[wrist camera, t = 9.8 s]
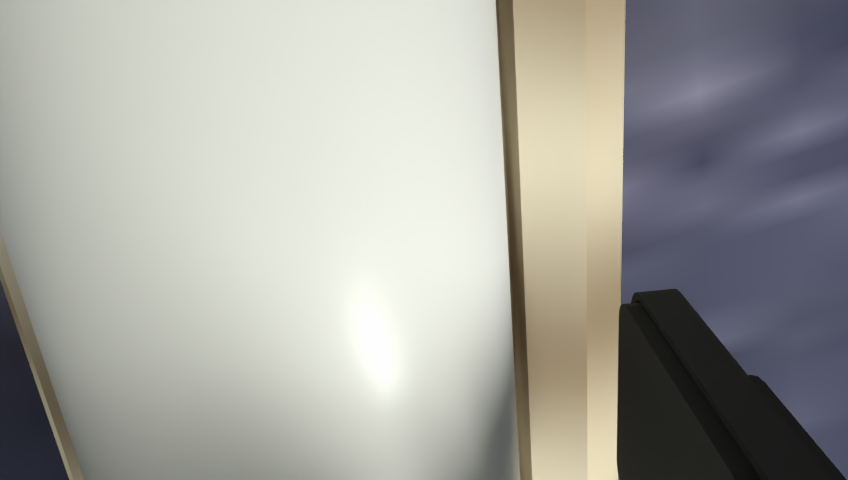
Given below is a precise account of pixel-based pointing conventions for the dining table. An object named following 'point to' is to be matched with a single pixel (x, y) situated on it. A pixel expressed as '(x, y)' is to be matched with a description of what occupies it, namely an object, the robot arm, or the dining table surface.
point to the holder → (532, 236)
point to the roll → (264, 234)
